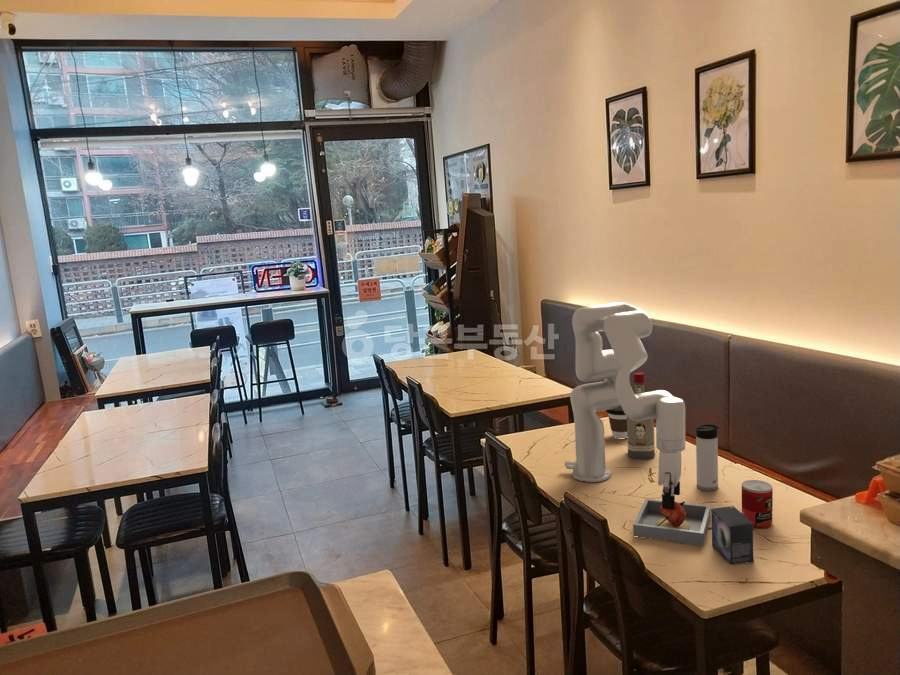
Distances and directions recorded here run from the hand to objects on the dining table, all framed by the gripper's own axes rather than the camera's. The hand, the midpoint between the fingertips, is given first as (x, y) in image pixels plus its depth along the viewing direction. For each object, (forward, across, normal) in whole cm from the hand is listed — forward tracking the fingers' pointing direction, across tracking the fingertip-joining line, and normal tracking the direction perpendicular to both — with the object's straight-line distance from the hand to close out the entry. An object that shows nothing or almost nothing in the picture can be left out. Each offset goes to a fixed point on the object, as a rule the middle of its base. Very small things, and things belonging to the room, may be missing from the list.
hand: (671, 501), depth 193 cm
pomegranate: (+7, +1, 0) cm, 7 cm away
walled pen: (+7, 0, 0) cm, 7 cm away
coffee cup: (+9, -72, -30) cm, 79 cm away
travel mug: (+8, -30, +6) cm, 32 cm away
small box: (+7, +12, +16) cm, 21 cm away
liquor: (+9, -54, -18) cm, 58 cm away
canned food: (+7, -8, +22) cm, 24 cm away
